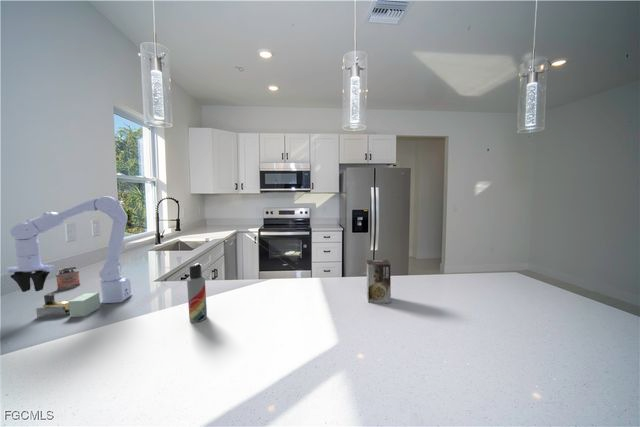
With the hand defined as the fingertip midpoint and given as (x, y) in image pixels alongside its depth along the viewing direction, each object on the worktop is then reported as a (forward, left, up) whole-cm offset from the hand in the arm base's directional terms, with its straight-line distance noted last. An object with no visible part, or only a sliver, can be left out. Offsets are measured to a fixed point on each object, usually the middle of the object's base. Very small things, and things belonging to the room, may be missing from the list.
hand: (32, 290), depth 94 cm
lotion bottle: (-63, +11, -10) cm, 65 cm away
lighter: (+12, -29, -10) cm, 33 cm away
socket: (-17, 0, -9) cm, 20 cm away
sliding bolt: (-8, 0, -8) cm, 12 cm away
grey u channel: (-7, 0, -9) cm, 12 cm away
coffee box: (-132, +4, -10) cm, 132 cm away
